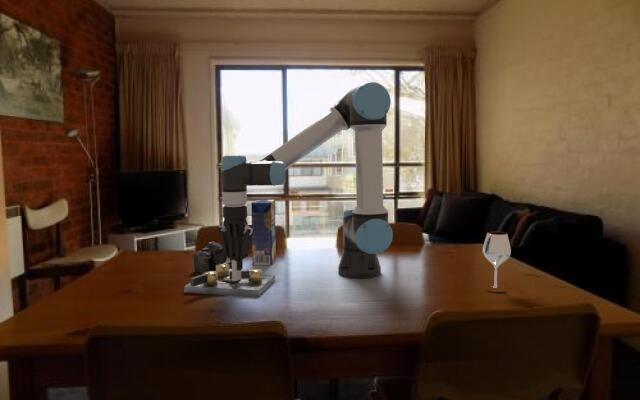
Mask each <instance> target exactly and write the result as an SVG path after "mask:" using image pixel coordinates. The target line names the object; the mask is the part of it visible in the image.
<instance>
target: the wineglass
mask: <svg viewBox="0 0 640 400" xmlns="http://www.w3.org/2000/svg"><path fill="white" fill-rule="evenodd" d="M511 251H512V248H511V244H510V240H509V236H508V232H503V231H489V232H487V233H486V236H485V239H484V243H483V246H482V254H483V256H484V257H485V259H486V260H487V261H488V262H489V263H490V264H491V265H493V267H494V275H493V276H494V279H493V281H494V282H493V286H492V287H493V288H497V287H498V268H499V267H500V266H501V265H502V264H503V263H505V262H506V261H508V259H509V258H510V257H511V253H512V252H511Z"/></svg>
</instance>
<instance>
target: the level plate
mask: <svg viewBox="0 0 640 400" xmlns="http://www.w3.org/2000/svg"><path fill="white" fill-rule="evenodd" d="M274 282H276V275H275V274H263V273H262V281H261V282H249V281H248V279H240V280H238V281H232V279H230V272H229V275H228V276H224V277H219V276H218V283H217V284H213V285H205V284H204V283H203V284H200V285H197V286H194V287H193V286H190V282H189V283H187V284H186V285H185V286H183V289H184V294H186V293H187V294H202V295H203V294H204V295H205V294H206V295H219V296H220V295H222V296H223V295H224V296H241V297H242V296H243V297H258V298H259V297H260V296H261V295H262V294H263V293H264V292H265V291H266V290H268V288H270V286H271V285H272V284H274Z"/></svg>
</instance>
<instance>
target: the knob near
mask: <svg viewBox="0 0 640 400" xmlns="http://www.w3.org/2000/svg"><path fill="white" fill-rule="evenodd" d="M189 283H190V286H193V287H194V286H197V285H200V284H203V283H204V284H205V285H213V284H217V283H218V272H216V270H210V271H208V272H204V273H201V274H200V275H196V276H193V277H190V278H189Z"/></svg>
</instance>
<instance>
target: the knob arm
mask: <svg viewBox="0 0 640 400" xmlns="http://www.w3.org/2000/svg"><path fill="white" fill-rule="evenodd" d="M229 273H230V279H232V270H229ZM262 274H263V270H262V269H261V268H260V269H259V268H251V269H242V270H241V279H248V281H249V282H261V281H262Z"/></svg>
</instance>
